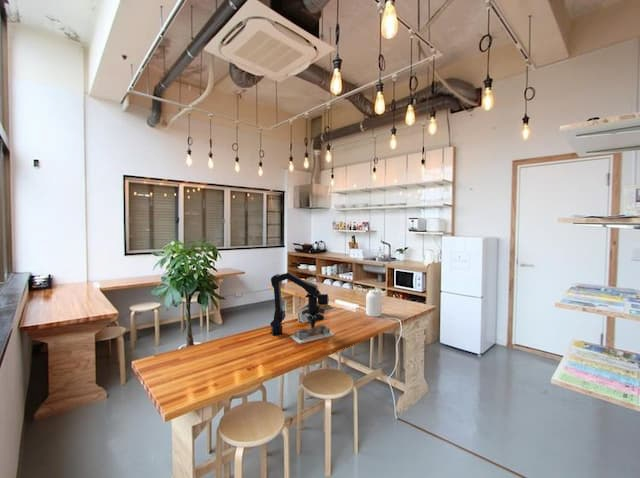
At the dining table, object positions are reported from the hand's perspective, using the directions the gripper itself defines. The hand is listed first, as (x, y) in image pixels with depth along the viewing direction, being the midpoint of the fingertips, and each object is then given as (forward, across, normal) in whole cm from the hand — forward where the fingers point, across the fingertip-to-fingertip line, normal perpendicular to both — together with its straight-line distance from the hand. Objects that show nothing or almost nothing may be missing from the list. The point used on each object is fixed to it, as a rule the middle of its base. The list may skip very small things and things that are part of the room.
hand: (312, 327), depth 198 cm
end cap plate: (+6, 0, 0) cm, 6 cm away
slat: (+5, 0, 0) cm, 5 cm away
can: (+6, +14, -67) cm, 69 cm away
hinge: (+6, +31, -14) cm, 35 cm away
